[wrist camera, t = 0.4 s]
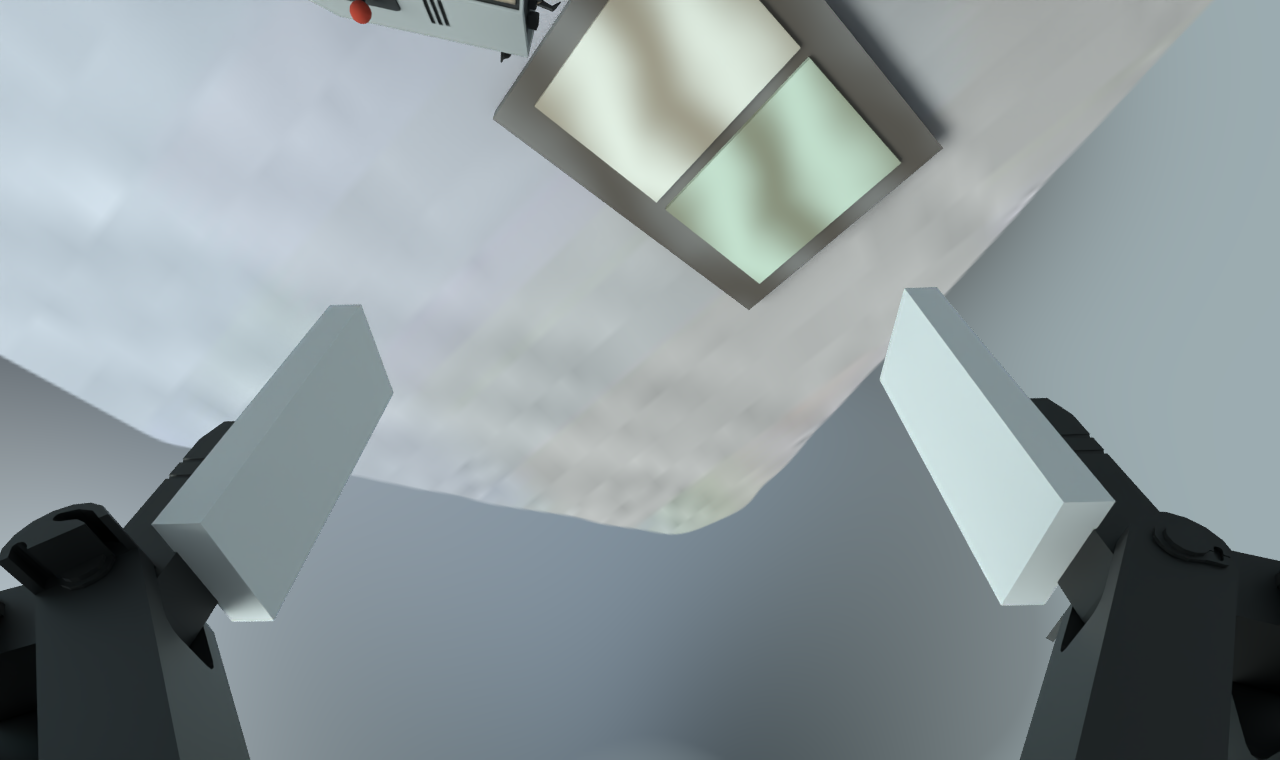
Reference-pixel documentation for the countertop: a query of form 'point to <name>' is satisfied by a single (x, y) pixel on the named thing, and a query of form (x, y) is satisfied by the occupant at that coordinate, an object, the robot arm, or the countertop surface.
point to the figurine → (452, 20)
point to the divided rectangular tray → (719, 127)
